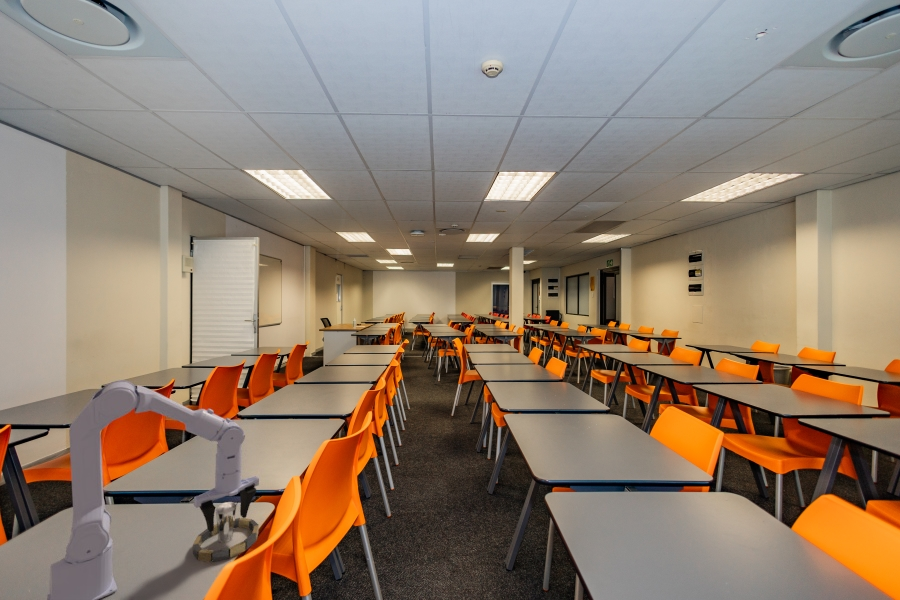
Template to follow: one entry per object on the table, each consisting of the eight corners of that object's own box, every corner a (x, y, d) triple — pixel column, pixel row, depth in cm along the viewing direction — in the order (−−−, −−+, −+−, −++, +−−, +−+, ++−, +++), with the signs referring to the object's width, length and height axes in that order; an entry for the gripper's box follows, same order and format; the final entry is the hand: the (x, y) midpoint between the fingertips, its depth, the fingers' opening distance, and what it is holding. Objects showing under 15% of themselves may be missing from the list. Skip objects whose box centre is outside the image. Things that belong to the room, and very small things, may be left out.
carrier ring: (204, 570, 83) (205, 561, 83) (186, 544, 92) (186, 536, 92) (267, 540, 94) (267, 532, 94) (245, 519, 103) (245, 512, 103)
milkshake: (232, 545, 92) (232, 505, 92) (211, 544, 92) (212, 505, 92) (242, 533, 96) (243, 496, 96) (222, 533, 96) (223, 496, 96)
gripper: (201, 485, 85) (199, 543, 85) (264, 465, 96) (263, 516, 96) (191, 476, 89) (190, 531, 89) (253, 457, 101) (252, 506, 100)
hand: (227, 522), depth 93 cm, fingers open, 7 cm apart
